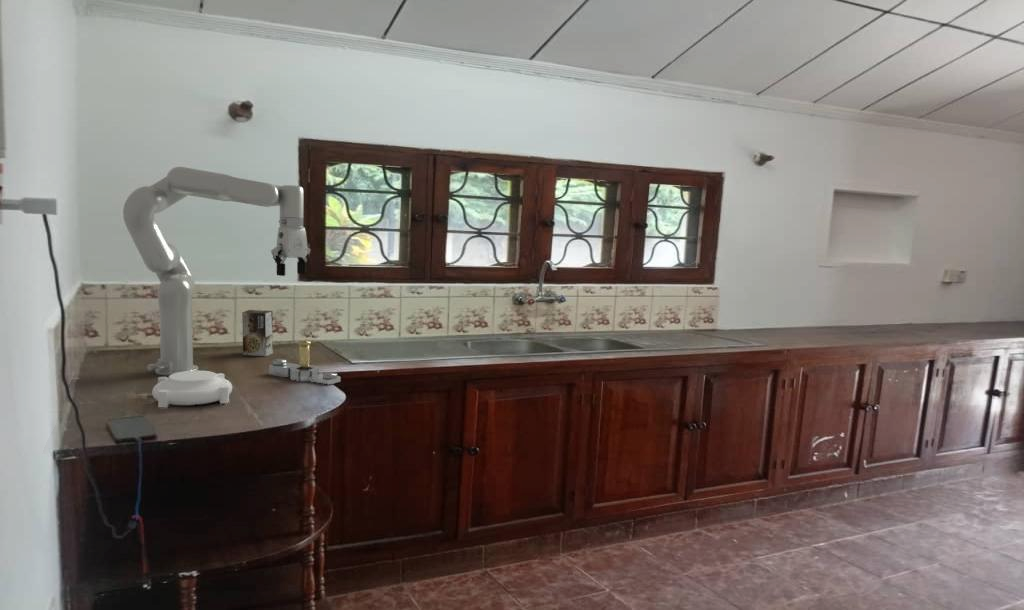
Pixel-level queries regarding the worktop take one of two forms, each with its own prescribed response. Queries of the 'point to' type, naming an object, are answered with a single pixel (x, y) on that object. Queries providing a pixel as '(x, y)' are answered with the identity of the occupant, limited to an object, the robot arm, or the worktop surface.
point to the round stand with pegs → (192, 388)
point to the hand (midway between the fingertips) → (291, 274)
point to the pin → (304, 354)
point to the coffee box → (257, 332)
